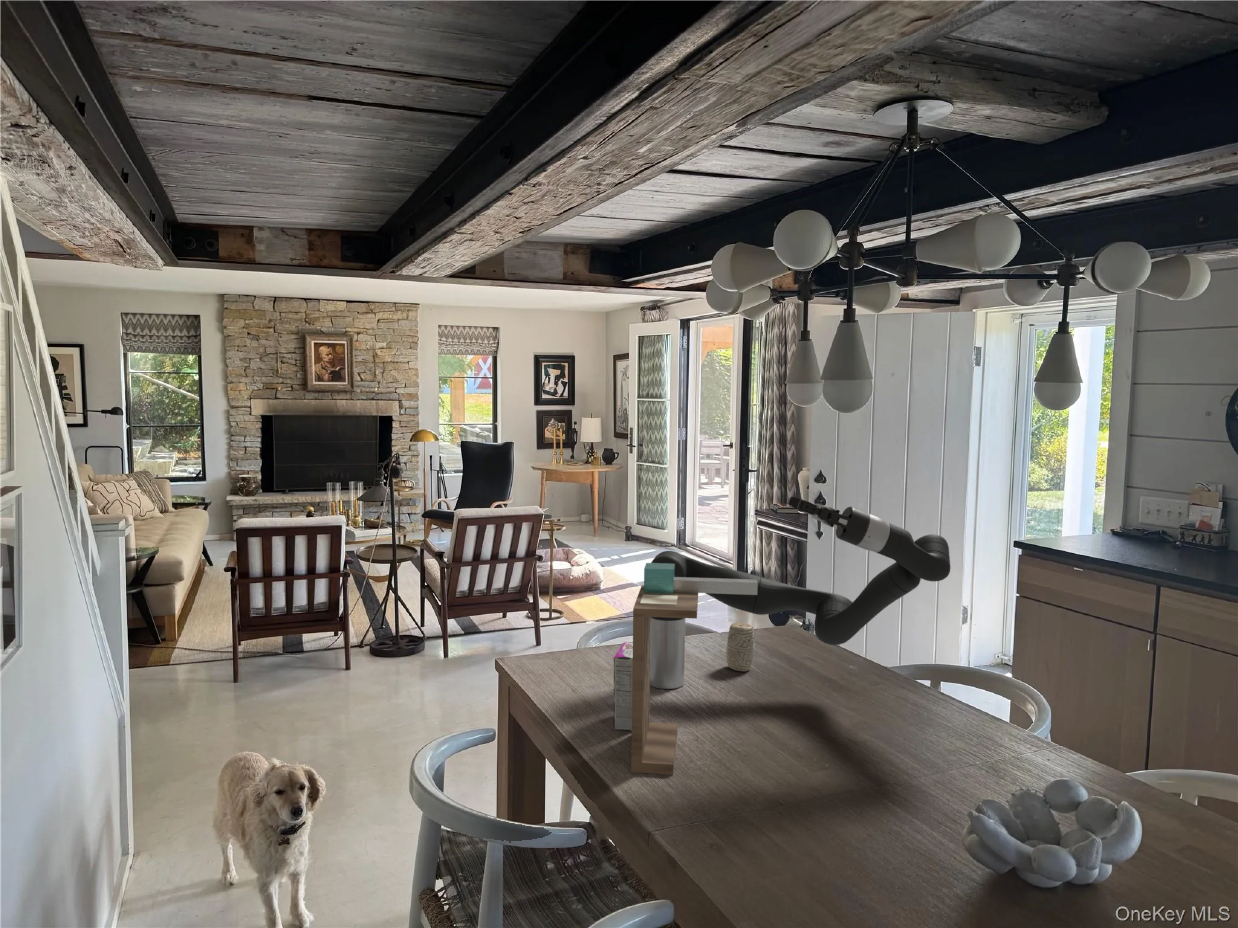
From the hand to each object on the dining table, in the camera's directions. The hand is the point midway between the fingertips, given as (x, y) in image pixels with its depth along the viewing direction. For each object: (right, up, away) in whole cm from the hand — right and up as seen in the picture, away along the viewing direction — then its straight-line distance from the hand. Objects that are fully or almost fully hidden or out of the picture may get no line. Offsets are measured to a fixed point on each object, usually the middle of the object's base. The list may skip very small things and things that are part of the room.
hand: (794, 502), depth 178 cm
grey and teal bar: (-21, -18, -8) cm, 29 cm away
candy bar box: (-36, -49, +6) cm, 61 cm away
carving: (-5, -47, +42) cm, 63 cm away
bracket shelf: (-28, -50, -10) cm, 59 cm away
